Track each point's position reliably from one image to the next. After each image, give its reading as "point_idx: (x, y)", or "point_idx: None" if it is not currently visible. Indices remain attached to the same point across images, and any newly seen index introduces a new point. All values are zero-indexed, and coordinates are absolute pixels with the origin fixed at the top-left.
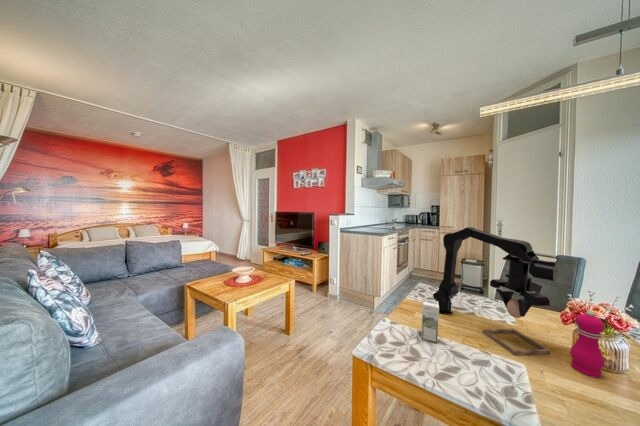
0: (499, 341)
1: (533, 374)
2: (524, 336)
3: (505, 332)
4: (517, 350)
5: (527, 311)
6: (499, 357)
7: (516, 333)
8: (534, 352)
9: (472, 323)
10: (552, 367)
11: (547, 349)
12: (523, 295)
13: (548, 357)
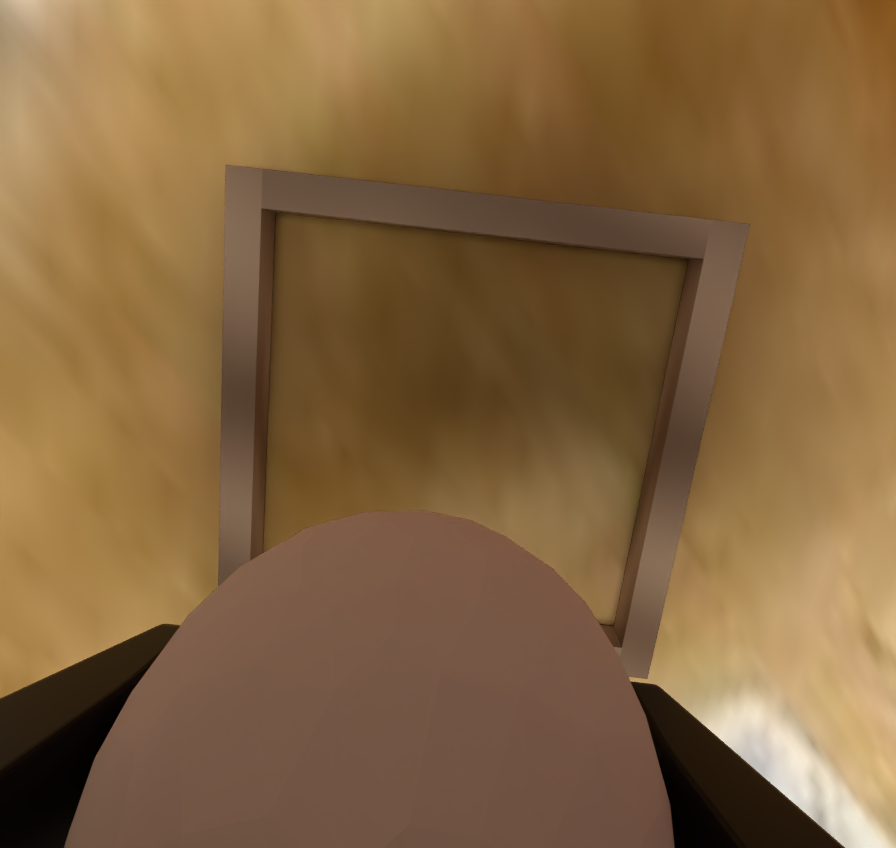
0: None
1: (867, 747)
2: (422, 216)
3: (266, 334)
4: (632, 626)
5: (821, 831)
6: None
7: (317, 215)
8: (695, 449)
9: (32, 547)
10: (879, 476)
11: (720, 230)
12: None
13: (765, 326)
